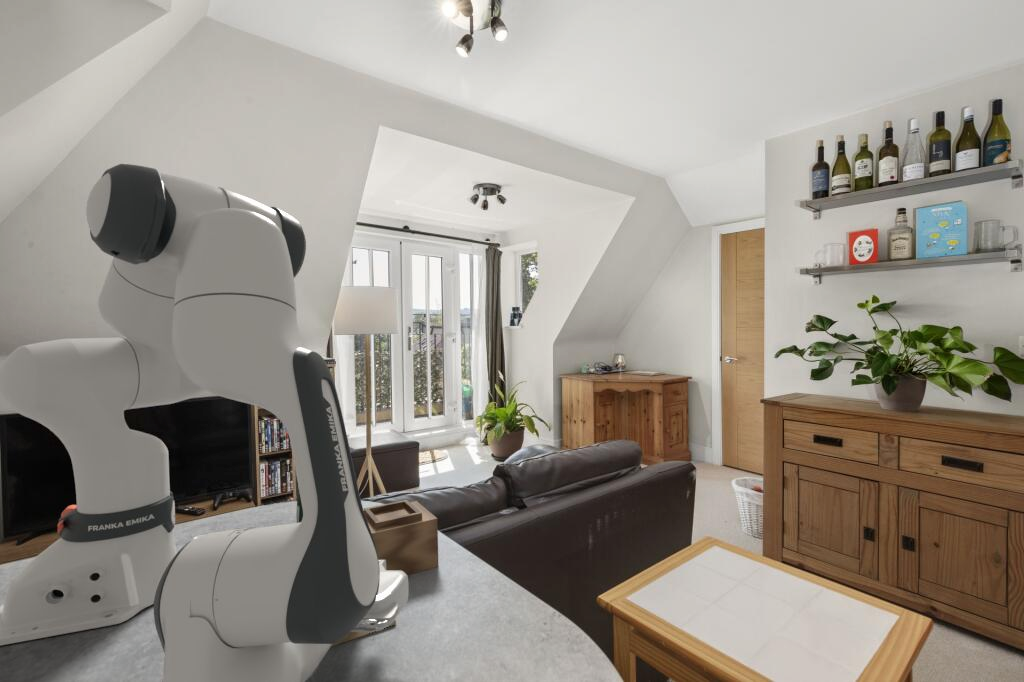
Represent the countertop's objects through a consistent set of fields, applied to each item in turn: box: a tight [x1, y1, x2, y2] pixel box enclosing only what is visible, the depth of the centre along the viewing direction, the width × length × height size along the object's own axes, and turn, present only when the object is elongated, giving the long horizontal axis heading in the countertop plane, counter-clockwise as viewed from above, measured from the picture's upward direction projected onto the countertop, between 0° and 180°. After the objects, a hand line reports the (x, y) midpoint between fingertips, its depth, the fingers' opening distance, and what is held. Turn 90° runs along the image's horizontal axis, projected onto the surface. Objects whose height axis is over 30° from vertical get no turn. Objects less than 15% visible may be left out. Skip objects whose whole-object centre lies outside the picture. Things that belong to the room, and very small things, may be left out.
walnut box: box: [363, 499, 439, 576], centre depth 82 cm, size 12×10×9 cm
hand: (346, 564), depth 66 cm, fingers open, 8 cm apart
